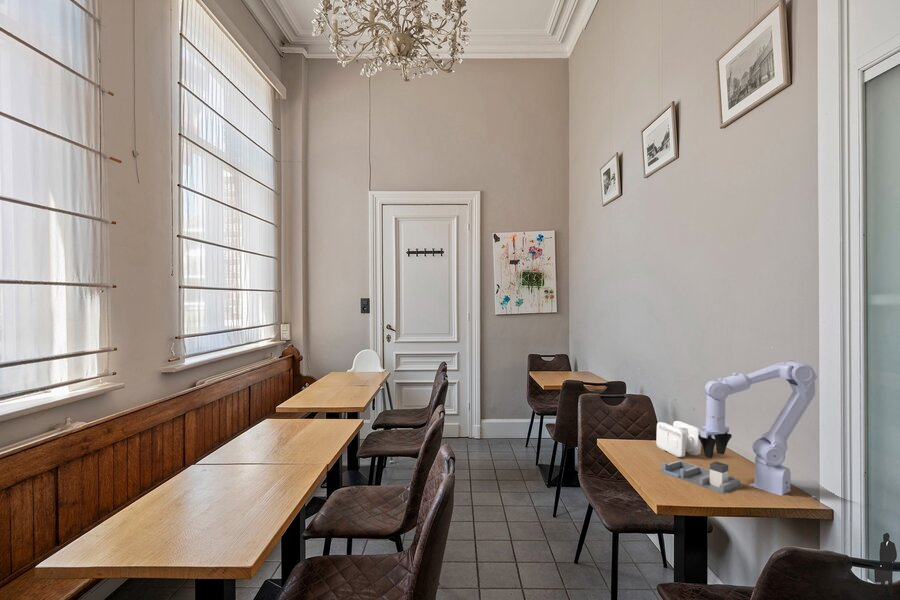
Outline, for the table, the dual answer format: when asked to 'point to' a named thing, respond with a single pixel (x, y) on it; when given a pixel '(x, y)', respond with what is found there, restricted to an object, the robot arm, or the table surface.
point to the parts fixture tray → (698, 476)
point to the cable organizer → (678, 438)
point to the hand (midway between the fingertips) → (714, 455)
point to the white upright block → (718, 473)
